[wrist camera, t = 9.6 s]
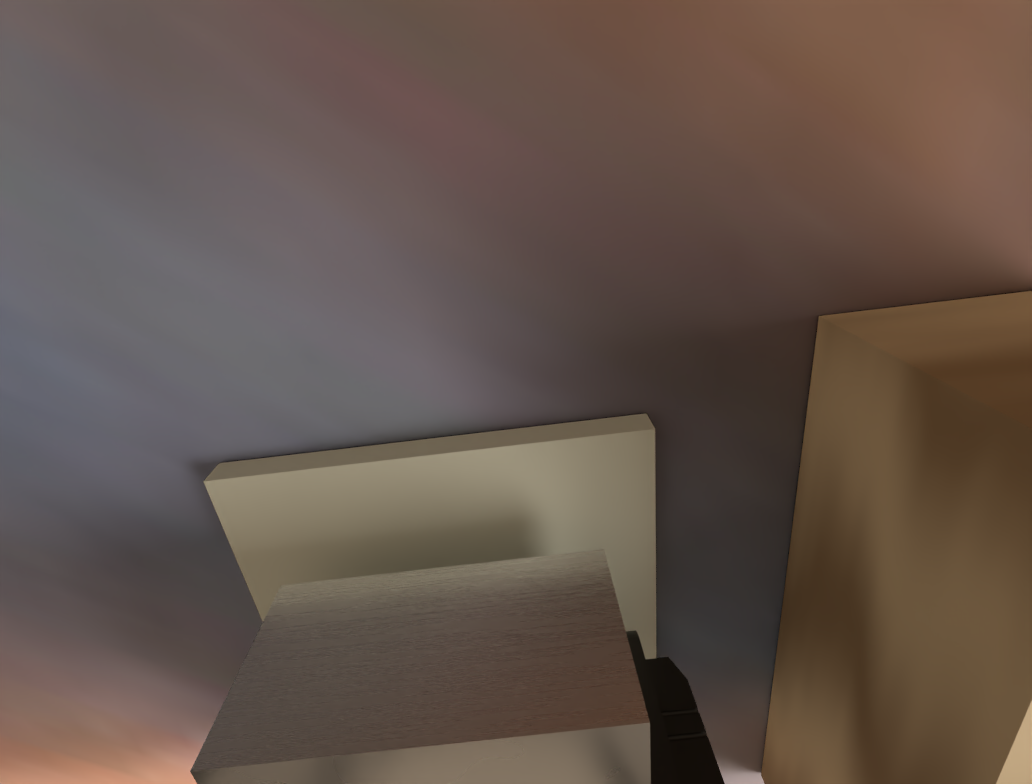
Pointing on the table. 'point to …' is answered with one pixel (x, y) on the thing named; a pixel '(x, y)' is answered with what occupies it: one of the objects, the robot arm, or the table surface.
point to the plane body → (911, 553)
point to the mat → (451, 508)
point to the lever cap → (439, 682)
